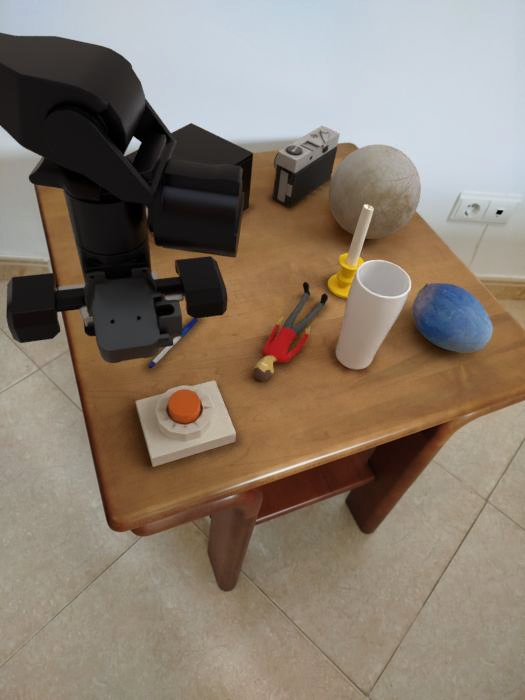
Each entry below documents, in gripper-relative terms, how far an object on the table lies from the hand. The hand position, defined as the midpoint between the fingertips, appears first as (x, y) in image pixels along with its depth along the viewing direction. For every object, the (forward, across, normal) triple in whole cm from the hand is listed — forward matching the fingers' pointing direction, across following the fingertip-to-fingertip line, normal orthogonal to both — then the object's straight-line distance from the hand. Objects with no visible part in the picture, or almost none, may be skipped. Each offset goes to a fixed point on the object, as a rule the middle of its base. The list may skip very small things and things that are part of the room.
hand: (130, 352), depth 51 cm
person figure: (+11, +22, +7) cm, 26 cm away
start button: (+8, +5, -3) cm, 10 cm away
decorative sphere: (+11, +43, +29) cm, 53 cm away
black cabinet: (+12, +14, +39) cm, 43 cm away
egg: (+11, +44, +4) cm, 45 cm away
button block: (+12, +5, -4) cm, 13 cm away
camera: (+11, +35, +44) cm, 58 cm away
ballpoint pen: (+12, +6, +10) cm, 17 cm away
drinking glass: (+11, +30, +2) cm, 32 cm away
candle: (+11, +34, +16) cm, 39 cm away
